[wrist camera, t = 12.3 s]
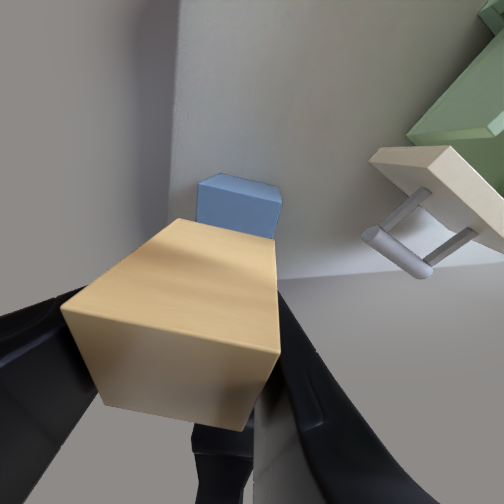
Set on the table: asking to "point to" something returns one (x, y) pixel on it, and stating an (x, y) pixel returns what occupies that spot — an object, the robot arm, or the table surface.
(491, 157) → the drawer
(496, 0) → the cabinet
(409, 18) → the table surface
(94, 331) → the block
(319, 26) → the table surface
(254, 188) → the block
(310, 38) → the table surface
